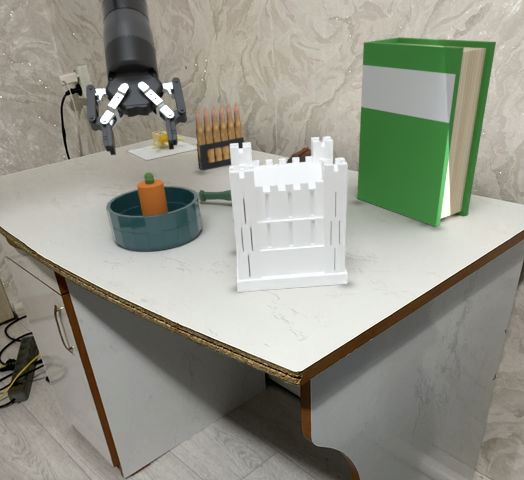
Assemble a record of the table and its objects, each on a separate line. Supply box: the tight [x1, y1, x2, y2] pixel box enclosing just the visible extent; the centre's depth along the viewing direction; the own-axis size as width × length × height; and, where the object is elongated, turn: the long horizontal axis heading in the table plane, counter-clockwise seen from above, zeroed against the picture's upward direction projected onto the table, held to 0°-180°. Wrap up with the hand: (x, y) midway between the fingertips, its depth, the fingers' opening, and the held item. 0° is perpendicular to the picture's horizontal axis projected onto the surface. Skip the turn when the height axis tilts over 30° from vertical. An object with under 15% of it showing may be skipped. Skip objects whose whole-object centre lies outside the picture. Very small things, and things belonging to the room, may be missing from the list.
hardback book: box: [356, 36, 497, 228], centre depth 83 cm, size 18×7×24 cm, turn 34°
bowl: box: [105, 185, 203, 252], centre depth 85 cm, size 14×14×6 cm
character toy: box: [151, 129, 185, 148], centre depth 131 cm, size 8×3×8 cm
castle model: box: [228, 135, 349, 293], centre depth 70 cm, size 14×14×15 cm
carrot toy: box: [136, 171, 168, 216], centre depth 84 cm, size 4×4×9 cm
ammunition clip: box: [195, 102, 245, 171], centre depth 114 cm, size 11×2×12 cm, turn 118°
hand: (142, 149), depth 78 cm, fingers open, 8 cm apart
